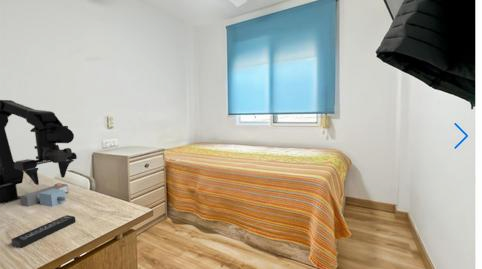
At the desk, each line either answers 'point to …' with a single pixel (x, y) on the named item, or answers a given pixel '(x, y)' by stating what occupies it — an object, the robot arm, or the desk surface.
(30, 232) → the multiport hub
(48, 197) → the slate plug
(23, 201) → the power strip
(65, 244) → the desk surface
